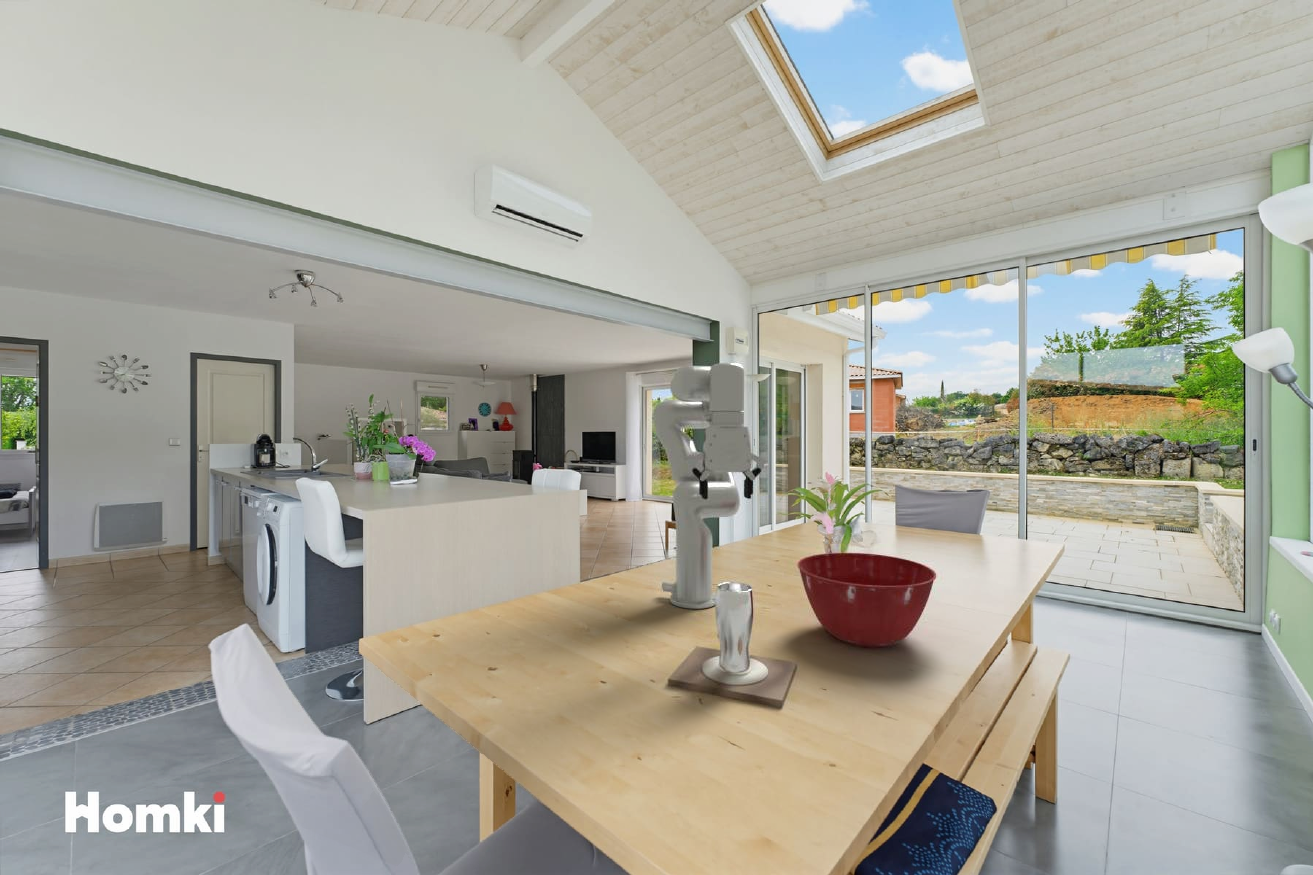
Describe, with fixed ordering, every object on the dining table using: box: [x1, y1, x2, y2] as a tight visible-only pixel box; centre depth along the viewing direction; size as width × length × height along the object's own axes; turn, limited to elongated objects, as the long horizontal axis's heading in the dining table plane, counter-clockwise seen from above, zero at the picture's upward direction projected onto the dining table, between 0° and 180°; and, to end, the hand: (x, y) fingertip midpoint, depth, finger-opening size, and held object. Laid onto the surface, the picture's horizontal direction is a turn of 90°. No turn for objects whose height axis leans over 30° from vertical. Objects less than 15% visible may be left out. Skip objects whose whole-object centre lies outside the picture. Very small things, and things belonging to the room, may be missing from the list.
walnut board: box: [667, 645, 798, 709], centre depth 101 cm, size 20×16×2 cm
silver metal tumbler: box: [715, 581, 755, 675], centre depth 101 cm, size 7×7×15 cm
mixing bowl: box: [796, 552, 937, 648], centre depth 122 cm, size 28×28×16 cm
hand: (726, 498), depth 121 cm, fingers open, 9 cm apart
